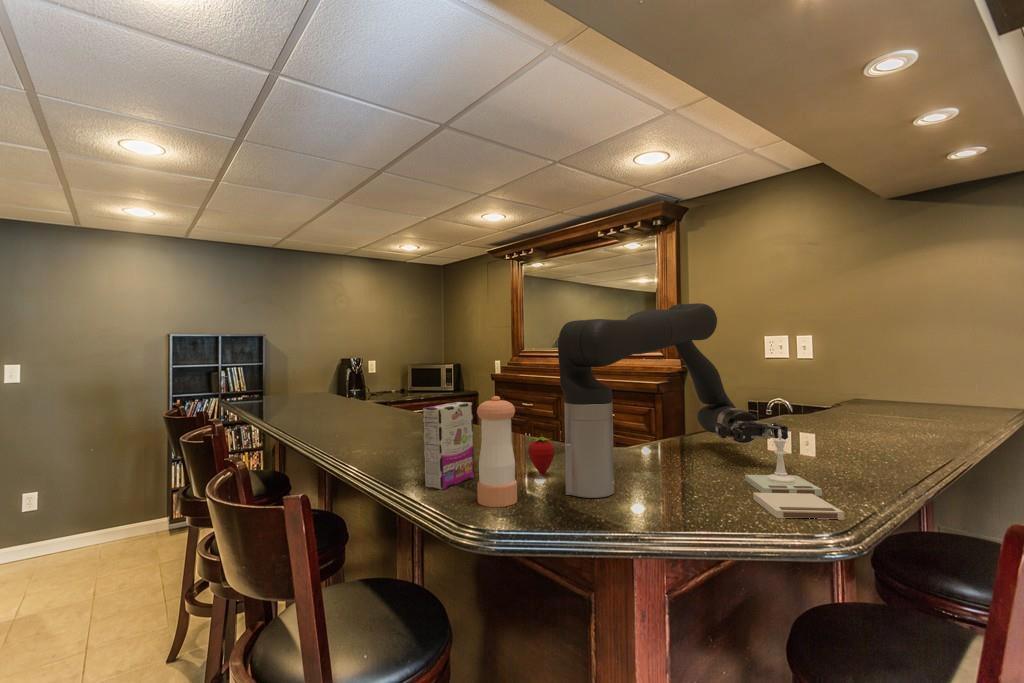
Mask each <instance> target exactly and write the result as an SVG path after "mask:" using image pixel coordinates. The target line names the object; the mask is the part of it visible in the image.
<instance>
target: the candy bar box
mask: <svg viewBox="0 0 1024 683" xmlns="http://www.w3.org/2000/svg"><path fill="white" fill-rule="evenodd" d="M473 418H474V416H473V402H468V401H467V402H466V401H456V402H450V403H449V402H448V403H444V404H438V405H433V406H428V407H427V406H426V407H423V408H422V421H423V423H422V424H423V457H424V458H423V460H424V487H425V488H428V489H433V490H434V489H435V490H446V489H447V488H451V487H454V486H456V485H458V484H461V483H464V482H466V481H468V480H471V479H473V478H475V461H474V460H475V459H474V458H475V457H474V428H473V427H474V425H473V424H474V423H473Z"/></svg>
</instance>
